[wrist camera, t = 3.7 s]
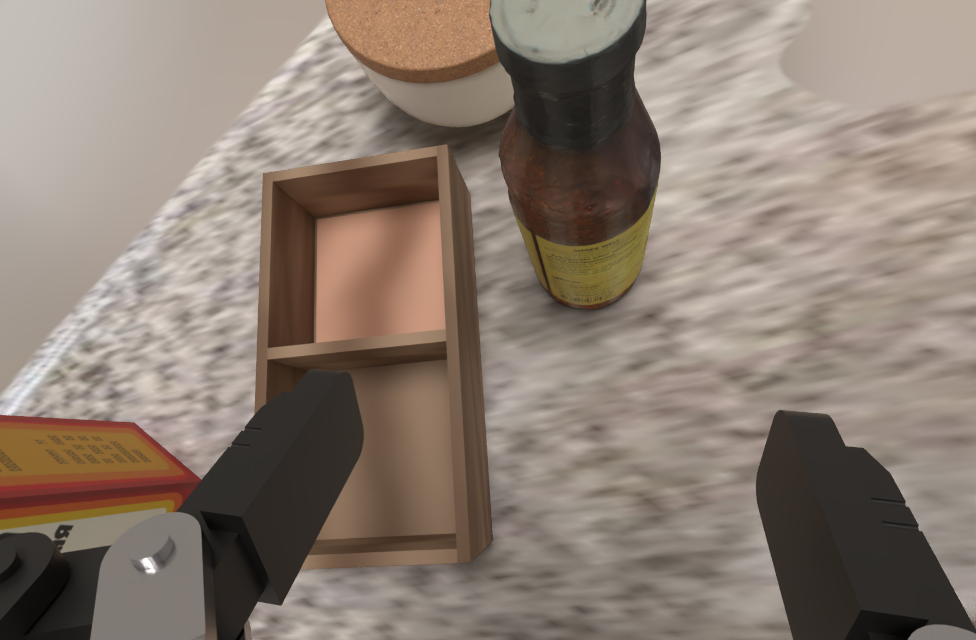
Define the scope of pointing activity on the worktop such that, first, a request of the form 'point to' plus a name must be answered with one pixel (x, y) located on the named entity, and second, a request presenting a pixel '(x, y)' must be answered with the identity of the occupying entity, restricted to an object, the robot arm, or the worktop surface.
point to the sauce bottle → (578, 142)
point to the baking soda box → (84, 479)
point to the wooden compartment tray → (383, 346)
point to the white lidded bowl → (428, 56)
